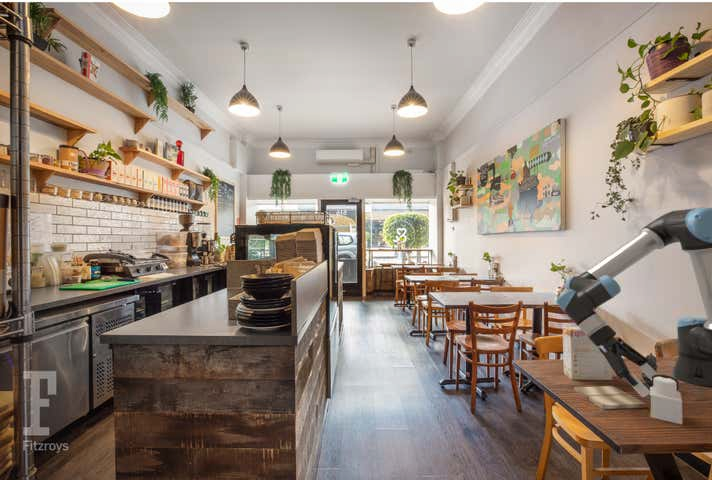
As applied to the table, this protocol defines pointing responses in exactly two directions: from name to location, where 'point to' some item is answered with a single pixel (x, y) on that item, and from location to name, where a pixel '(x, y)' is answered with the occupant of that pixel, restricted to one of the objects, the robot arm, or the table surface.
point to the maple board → (609, 397)
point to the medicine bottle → (665, 399)
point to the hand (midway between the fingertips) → (654, 389)
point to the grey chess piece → (653, 365)
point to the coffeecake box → (583, 356)
